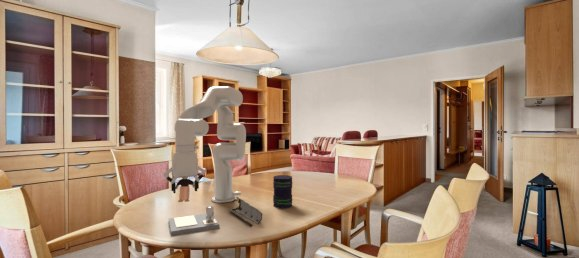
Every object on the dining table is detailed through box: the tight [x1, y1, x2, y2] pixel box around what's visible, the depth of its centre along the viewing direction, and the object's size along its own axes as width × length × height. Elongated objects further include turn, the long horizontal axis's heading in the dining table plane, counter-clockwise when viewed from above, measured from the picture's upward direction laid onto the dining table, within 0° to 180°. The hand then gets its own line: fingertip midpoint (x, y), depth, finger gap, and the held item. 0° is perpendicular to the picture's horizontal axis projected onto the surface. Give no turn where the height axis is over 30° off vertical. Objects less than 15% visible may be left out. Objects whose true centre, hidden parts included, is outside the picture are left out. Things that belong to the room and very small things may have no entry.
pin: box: [205, 205, 215, 223], centre depth 116 cm, size 3×3×6 cm
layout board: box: [168, 213, 220, 236], centre depth 117 cm, size 18×16×2 cm
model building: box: [227, 196, 263, 227], centre depth 128 cm, size 7×7×25 cm
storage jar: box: [272, 174, 293, 210], centre depth 145 cm, size 10×10×15 cm
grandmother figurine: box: [176, 177, 195, 203], centre depth 116 cm, size 8×4×13 cm, turn 117°
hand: (185, 191), depth 116 cm, fingers closed on grandmother figurine, 7 cm apart
